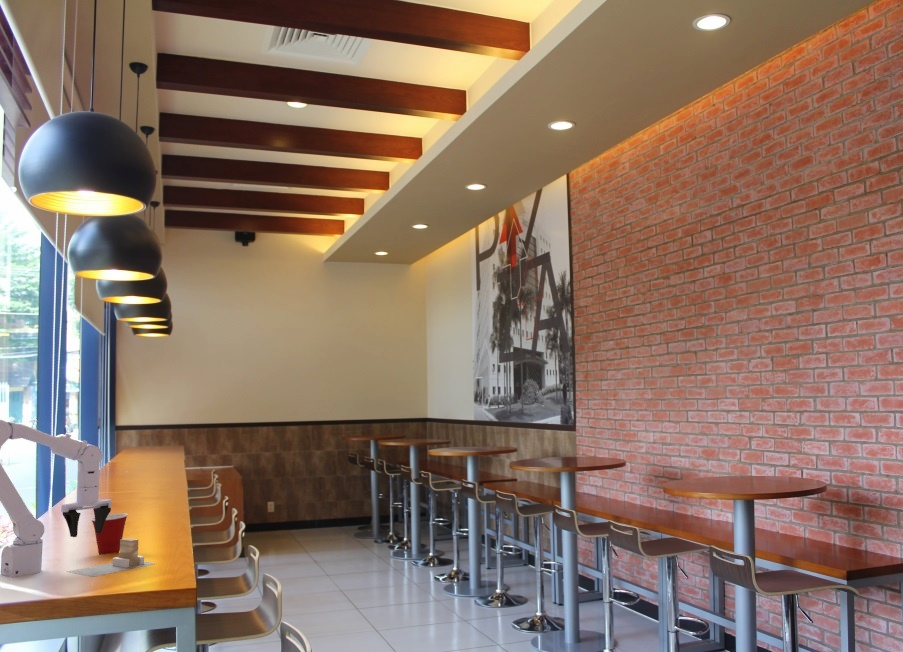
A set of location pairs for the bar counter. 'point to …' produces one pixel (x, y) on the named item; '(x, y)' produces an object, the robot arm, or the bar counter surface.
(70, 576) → the bar counter surface
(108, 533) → the plastic cup
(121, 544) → the wooden block
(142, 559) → the clip board
